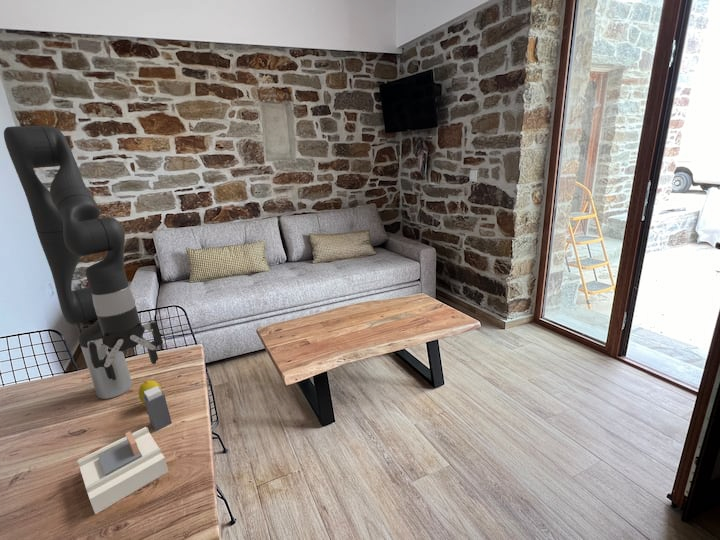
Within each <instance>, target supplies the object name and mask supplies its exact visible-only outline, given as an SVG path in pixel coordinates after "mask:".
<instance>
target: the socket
mask: <svg viewBox="0 0 720 540" xmlns="http://www.w3.org/2000/svg"><path fill="white" fill-rule="evenodd" d="M131 434H132V435H133V437H134V439H135V441H136V443H137V447H138V449H139V451H140V453H141V454H142V457H141V458H139V459H137V460H135V461H133V462H131V463H129V464H128V465H126V466H124V467H122V468H120V469H118V470H116V471H115V472H113V473H111V474H109V475H107V476H105V473H104V471H103V468H102V466H101V463H100V461H99V458H98V456H99V455H101V454H103V453H105V452H107V451H109V450H111V449H113V448H115V447H117V446H119V445H121V444H123V443H125V442H127V438H126V436H124V437H122V438H120V439H118V440H115V441H114V442H112V443H110V444H108V445H106V446H104V447H101V448H99V449H97V450H96V451H93V452H91V453H89V454H87V455H85V456H83V457H80V458H79V459H77V464H78V467H79V470H80V473H81V476H82V479H83V483H84V486H85V490H86V493H87V495H88V499H89V501H90V504H91V507H92V509H93V510H92V511H93V513H94V515H97V514H98V513H100V512H101V511H104V510H106V509H107V508H109V507H110V506H112V505H114V504H115V503H117V502H119V501H121V500H122V499H124V498H126V497H127V496H129V495H131V494H133V493H134V492H136V491H138V490H139V489H141V488H143V487H145V486H146V485H148V484H150V483H151V482H153V481H156V480H157V479H159V477H163V476H164V475H165V474H167V473H168V472H169V468H168V463H167V462H166V461H167V460H166V457H165V456H164V453H162V449H161V447H159V445H158V444H157V443H156V441H155V439H154V438H153V436H152V435H151V433H150V430H149V428H148V427H146V426H144V427H142V428H140V429H138V430H136V431H134V432H131Z"/></svg>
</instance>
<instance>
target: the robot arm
mask: <svg viewBox="0 0 720 540" xmlns="http://www.w3.org/2000/svg"><path fill="white" fill-rule="evenodd" d="M3 138H4V143H5V145H6V150H7V152H8V154H9V157H10V160H11V162H12V164H13V166H14V169H15V172H16V174H17V177H18V179H19V181H20V184H21V187H22V189H23V191H24V194H25V197H26V200H27V203H28V206H29V207H28V208H29V210H30V212H31V213H30V214H31V216H32V220H33V223H34V224H33V225H34V227H35V230H36V234H37V236H38V240H39V242H40V245H41V247H42V251H43V252H44V256H45V259H46V260H47V263H48V266H49V269H50V272H51V276H52V279H53V284H54V286H55V290H56V295H57V299H58V303H59V307H60V310H61V313H62V315H63V318H64V320H65V322H67V323H68V324H69V325H73V326H74V325H78V324H83V323H86V322H90V321H92V320H96V319H97V320H96V321H95V322H94V323H93V324H91V325H90V326H89V327H87V328H85V329H84V330H83V331H81V333H79V335H78V342H79V346H80V348H81V351H82V354H83V357H84V360H85V363H86V367H87V369H88V373H89V375H90V378H91V382H92V383H93V388H94V390H95V393H96V396H97V398H99V399H104V400H106V399H107V400H108V399H112V398H116V397H119V396H120V395H123V394H124V393H126V392H127V391H129V390H130V389H131V387H132V385H133V381H132V378H131V374H130V371H129V367H128V365H127V361H126V358H125V353H124V352H125V351H127V350H129V349H133V348H136V347H137V346H138V345H141V346H142V347H144V348H147V352H148V356H149V359H150V360H149V361H150V363H151V364H152V365H155V364H157V361H158V360H159V357H158V353H157V348H158V347H159V346H161V345H163V343H164V341H163V338H162V336H161V333H160V330H159V327H158V323H156V322H155V321H154V319H153V320H151V319H149V321H148V323H147V322H146V323H145V324H142V323H141V319H140V317H139V313H138V309H137V306H136V300H135V298H134V294H133V291H132V289H131V288H130V285H129V284H130V283H129V280H128V278H127V274H126V269H125V257H124V256H125V243H126V242H125V241H126V239H125V238H126V233H125V229H124V226H123V225H122V224H121V223H120V221H119V220H118V219H116V218H114V217H111V216H110V217H109V216H107V217H100V215H101V211H100V208H99V207H100V206H99V205H98V204H97V202H96V201H95V199H94V197H93V195H92V194H91V192H90V191H89V189H88V188H87V186H86V184H85V182H84V180H83V177H82V174H81V171H80V168H79V166H78V163H77V161H76V159H75V156H74V154H73V152H72V150H71V147H70V143H69V142H68V140H67V139H66V137H65V135H64V134H63V132H62V131H61V130H60V129H59V128H57V127H55V126H51V125H49V126H48V125H43V126H40V125H38V126H37V125H35V126H34V125H33V126H32V125H28V126H26V125H25V126H23V125H21V126H15V125H14V126H7V127H6V128H5V129H4V130H3ZM50 167H54V168H55V167H59V169H58V170H57V173H56V174H55V176H54V177H53V180H52V181H51V184H50V187H49V189H48V188H47V187H46V186H45V185H44V184H43V183H42V181H41V180H40V179H39V177H38V175H37V174H36V171H35V169H36V168H50ZM103 252H104V253H105V252H107V253H106V256H105V257H104V258H103V259H102V260H100V261H98V262H96V263H93V264H91V265H89V266H88V267H87V268H86V269H85V277H86V279H87V283H88V286H87V287H83V288H78V289H75V290H72V282H73V277H74V274H75V270H76V268H77V266H78V264H79V261H80V259H81V258H82V257H83V256H84V257H85V256H90V255H95V254H98V253H99V254H100V253H103ZM146 330H147V331H148V332H149V333H151V335H152V337H153V340H152V341H150V340H148V339H146V338H145V337H143V335H144V333H145V331H146Z"/></svg>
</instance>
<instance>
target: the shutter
mask: <svg viewBox="0 0 720 540" xmlns="http://www.w3.org/2000/svg"><path fill="white" fill-rule="evenodd" d="M124 434H125V437H126V438H127V442H125V443H123V444H121V445H119V446H117V447H115V448H113V449H111V450H109V451H107V452H105V453H103V454H101V455H99V456H98V458H99V461H100V463H101V466H102V468H103V471H104V473H105V476H107V475H109V474H111V473H113V472H115V471H116V470H118V469H120V468H122V467H124V466H126V465H128V464H129V463H131V462H133V461H135V460H137V459H139V458H141V457H142V454H141V453H140V451H139V449H138V447H137V443H136V441H135V439H134V437H133V435H132V432H131V430H128V431H127V432H125V433H124Z"/></svg>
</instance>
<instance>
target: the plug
mask: <svg viewBox="0 0 720 540" xmlns="http://www.w3.org/2000/svg"><path fill="white" fill-rule="evenodd" d="M144 394H145V395H143V398H144V402H145V404H144V405H145V407H146V411H147V414H148V419H149V421H150V425H151V426H152V428H153V430H154V431H155V432H157V431H160V430H162V429H164V428H165V427H167V426H169V425H172V423H173V422H172V418H171V415H170V414H171V413H170V411H169V408H168V403H167V400H166V396H165V394H164V392H163V391H162V389H161V390H160V388H159V387H158V386H156V387H153V388H151V389H149V390H146V391H144Z"/></svg>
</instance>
